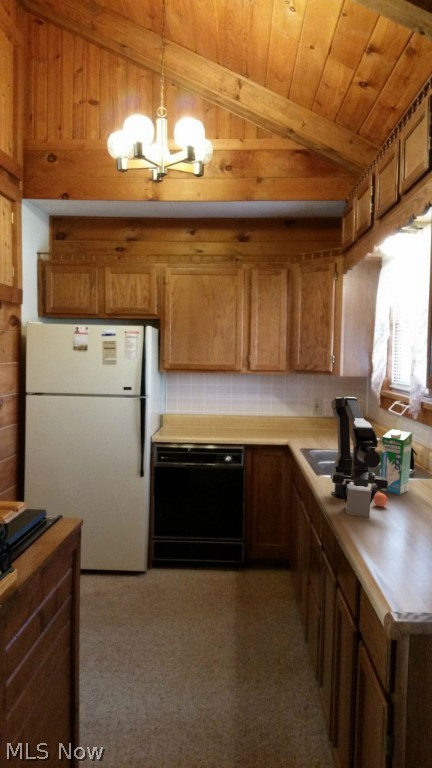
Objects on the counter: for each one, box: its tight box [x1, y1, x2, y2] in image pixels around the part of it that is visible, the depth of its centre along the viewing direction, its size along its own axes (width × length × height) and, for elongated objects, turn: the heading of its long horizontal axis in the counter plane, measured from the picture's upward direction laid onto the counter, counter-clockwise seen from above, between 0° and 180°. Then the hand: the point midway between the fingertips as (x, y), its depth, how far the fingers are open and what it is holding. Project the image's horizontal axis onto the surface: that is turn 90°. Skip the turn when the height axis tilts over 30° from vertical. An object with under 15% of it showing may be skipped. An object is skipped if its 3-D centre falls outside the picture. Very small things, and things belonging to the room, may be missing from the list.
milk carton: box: [378, 429, 413, 496], centre depth 193 cm, size 9×9×25 cm
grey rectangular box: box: [345, 483, 372, 518], centre depth 164 cm, size 8×8×9 cm
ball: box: [372, 492, 388, 508], centre depth 172 cm, size 5×5×5 cm
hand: (357, 503), depth 164 cm, fingers closed on grey rectangular box, 8 cm apart
